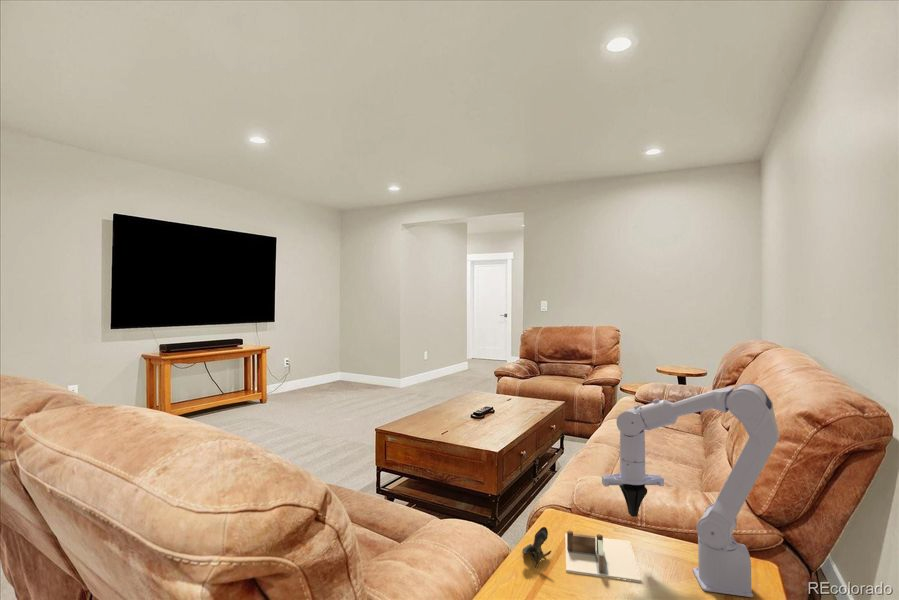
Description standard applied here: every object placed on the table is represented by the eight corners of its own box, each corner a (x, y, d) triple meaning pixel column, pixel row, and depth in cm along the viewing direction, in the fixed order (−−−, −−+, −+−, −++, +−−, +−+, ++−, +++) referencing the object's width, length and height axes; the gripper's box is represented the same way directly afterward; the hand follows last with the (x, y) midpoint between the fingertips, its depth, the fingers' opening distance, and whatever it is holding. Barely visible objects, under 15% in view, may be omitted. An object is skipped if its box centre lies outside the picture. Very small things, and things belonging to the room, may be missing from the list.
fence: (602, 552, 108) (602, 534, 108) (603, 555, 107) (603, 537, 107) (567, 548, 110) (567, 530, 110) (567, 551, 109) (567, 533, 109)
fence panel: (597, 554, 107) (597, 539, 107) (602, 555, 106) (602, 540, 106) (598, 571, 100) (598, 555, 100) (604, 572, 99) (604, 556, 100)
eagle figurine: (560, 565, 102) (554, 537, 111) (544, 540, 101) (539, 515, 110) (532, 579, 103) (528, 551, 112) (515, 555, 102) (513, 529, 111)
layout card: (629, 543, 113) (629, 540, 113) (641, 582, 97) (641, 580, 97) (565, 535, 117) (565, 533, 117) (566, 572, 101) (566, 569, 101)
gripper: (653, 453, 113) (654, 507, 113) (597, 453, 113) (597, 507, 112) (668, 463, 106) (668, 520, 106) (607, 463, 106) (608, 521, 105)
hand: (632, 514), depth 109 cm, fingers closed
